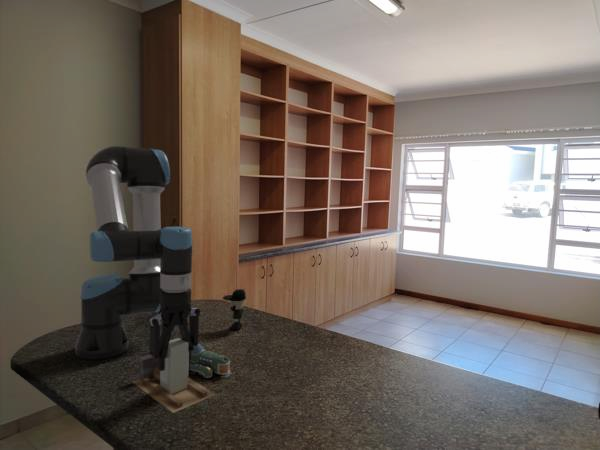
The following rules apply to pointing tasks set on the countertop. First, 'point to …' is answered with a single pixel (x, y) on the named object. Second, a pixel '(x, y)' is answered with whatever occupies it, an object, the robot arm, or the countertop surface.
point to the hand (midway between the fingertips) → (174, 377)
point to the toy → (236, 307)
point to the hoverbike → (208, 363)
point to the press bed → (168, 400)
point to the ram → (177, 366)
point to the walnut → (156, 374)
